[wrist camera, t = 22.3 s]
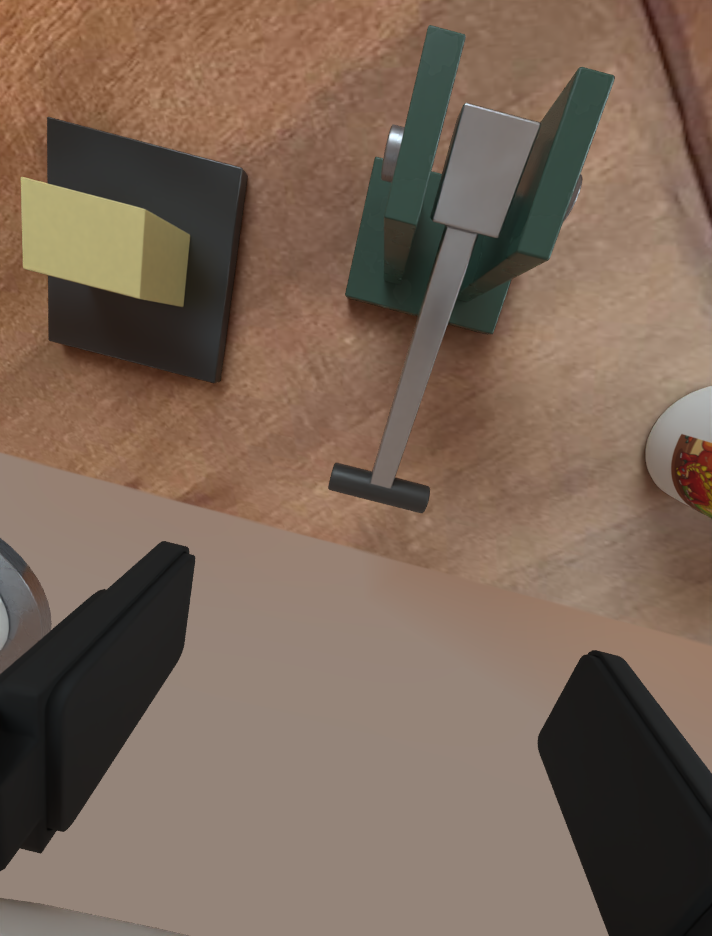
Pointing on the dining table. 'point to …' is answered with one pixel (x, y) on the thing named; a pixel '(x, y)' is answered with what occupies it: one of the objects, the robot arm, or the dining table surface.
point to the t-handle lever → (446, 280)
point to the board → (179, 203)
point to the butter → (102, 243)
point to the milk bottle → (684, 451)
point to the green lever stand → (415, 187)
